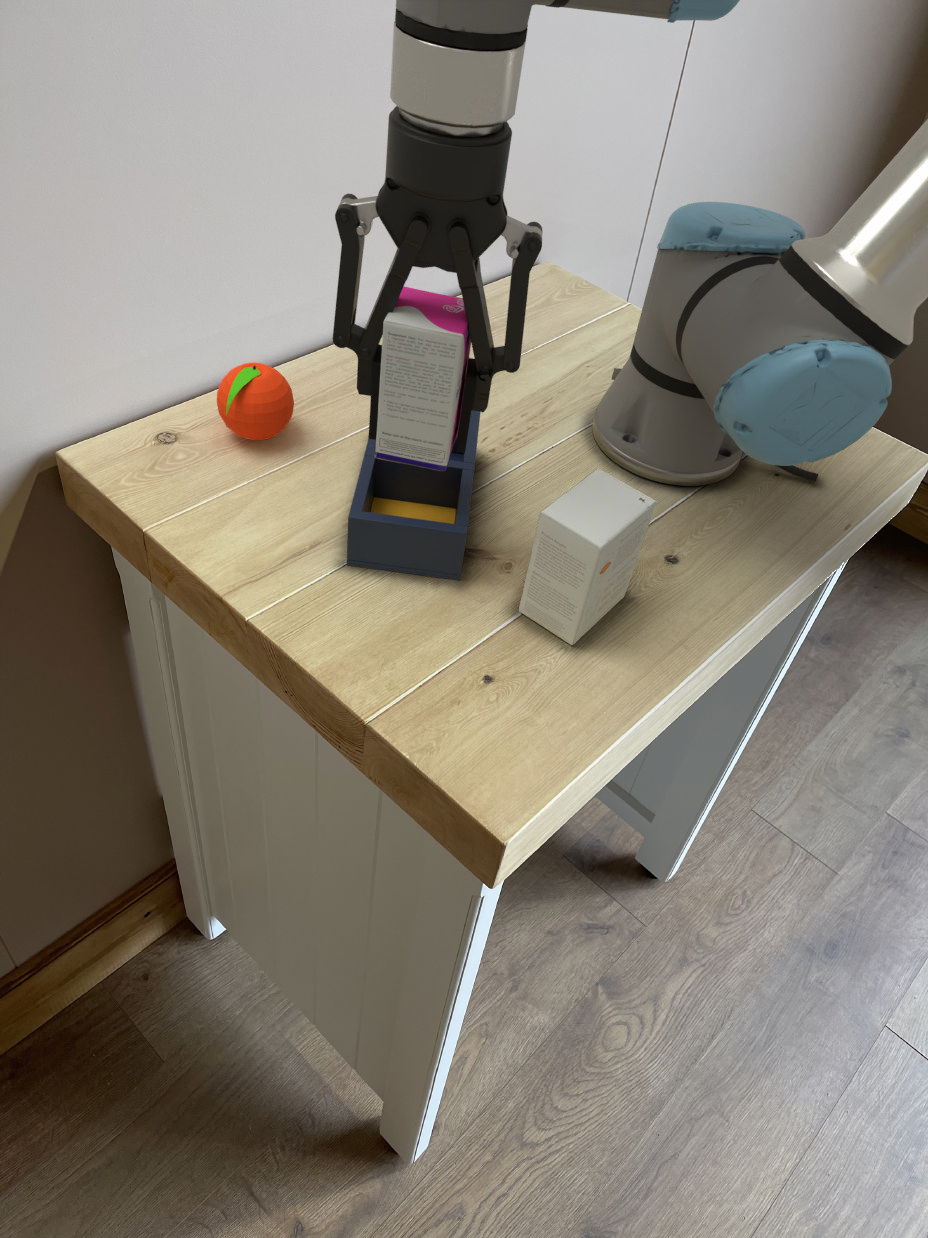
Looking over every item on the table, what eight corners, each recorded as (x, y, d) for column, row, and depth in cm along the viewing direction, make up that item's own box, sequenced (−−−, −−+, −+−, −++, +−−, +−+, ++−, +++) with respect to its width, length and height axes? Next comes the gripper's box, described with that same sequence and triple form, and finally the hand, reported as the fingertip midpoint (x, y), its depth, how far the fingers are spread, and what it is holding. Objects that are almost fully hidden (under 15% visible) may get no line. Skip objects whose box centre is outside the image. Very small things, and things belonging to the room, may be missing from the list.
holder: (376, 441, 88) (379, 395, 84) (473, 455, 88) (480, 409, 85) (346, 565, 75) (348, 517, 72) (459, 580, 76) (467, 533, 72)
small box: (571, 565, 79) (598, 465, 71) (625, 598, 77) (659, 499, 69) (515, 611, 74) (538, 509, 66) (571, 648, 72) (602, 547, 64)
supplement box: (448, 473, 70) (462, 335, 62) (373, 459, 70) (377, 319, 62) (462, 432, 74) (478, 297, 66) (391, 418, 74) (397, 282, 66)
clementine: (262, 470, 83) (259, 401, 78) (197, 445, 84) (190, 376, 79) (308, 427, 88) (308, 361, 83) (246, 404, 90) (242, 338, 85)
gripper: (605, 117, 58) (540, 426, 75) (306, 70, 58) (306, 392, 74) (610, 159, 53) (538, 481, 69) (280, 107, 52) (286, 445, 69)
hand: (418, 435), depth 72 cm, fingers closed on supplement box, 6 cm apart
